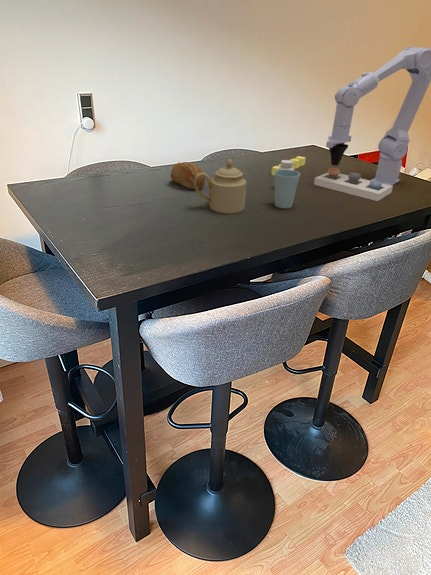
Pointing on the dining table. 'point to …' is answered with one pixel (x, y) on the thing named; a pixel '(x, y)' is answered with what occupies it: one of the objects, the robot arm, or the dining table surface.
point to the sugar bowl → (225, 190)
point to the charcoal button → (354, 177)
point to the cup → (285, 187)
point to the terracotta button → (333, 173)
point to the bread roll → (187, 175)
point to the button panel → (353, 186)
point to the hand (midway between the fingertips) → (334, 165)
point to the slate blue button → (375, 184)
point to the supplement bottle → (286, 165)
